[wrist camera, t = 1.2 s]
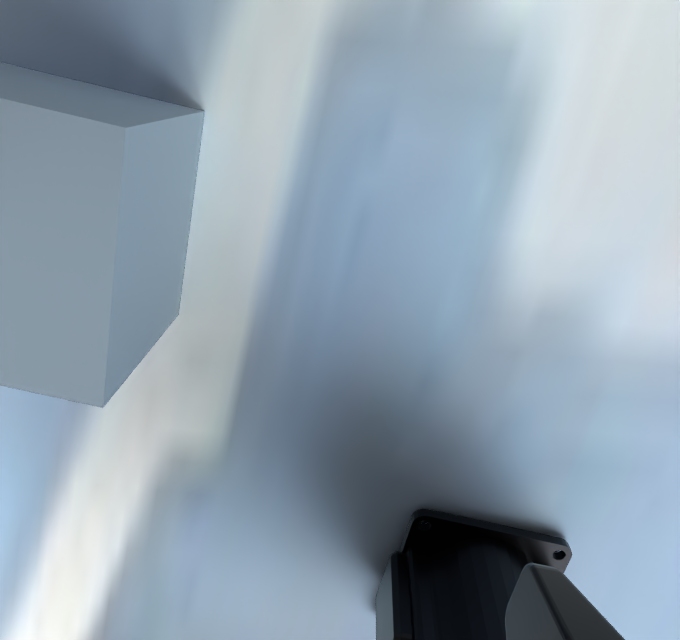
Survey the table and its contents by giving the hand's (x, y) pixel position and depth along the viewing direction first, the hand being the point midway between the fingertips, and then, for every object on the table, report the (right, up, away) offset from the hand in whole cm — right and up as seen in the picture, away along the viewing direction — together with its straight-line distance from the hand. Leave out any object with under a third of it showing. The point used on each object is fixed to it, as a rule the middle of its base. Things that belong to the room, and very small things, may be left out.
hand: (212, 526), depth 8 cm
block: (-7, +7, +12) cm, 15 cm away
